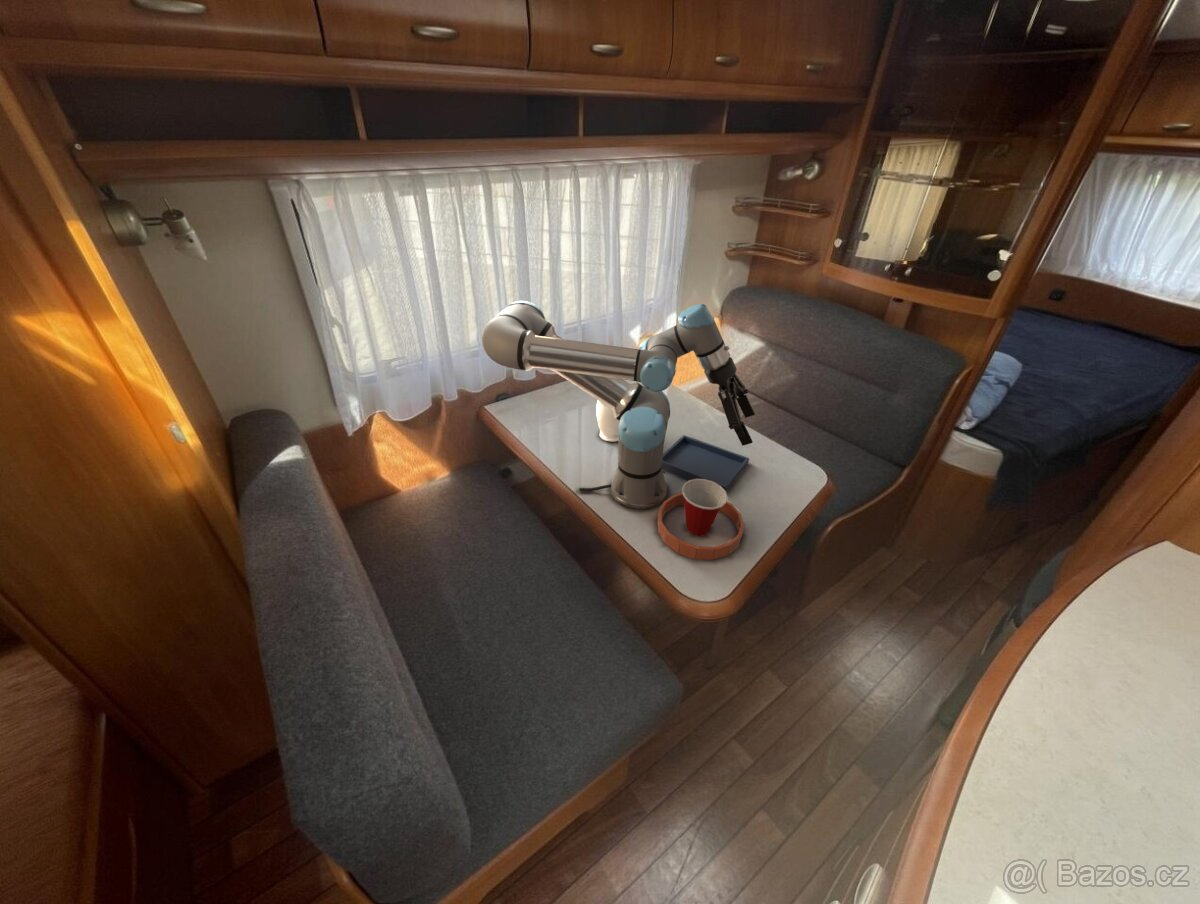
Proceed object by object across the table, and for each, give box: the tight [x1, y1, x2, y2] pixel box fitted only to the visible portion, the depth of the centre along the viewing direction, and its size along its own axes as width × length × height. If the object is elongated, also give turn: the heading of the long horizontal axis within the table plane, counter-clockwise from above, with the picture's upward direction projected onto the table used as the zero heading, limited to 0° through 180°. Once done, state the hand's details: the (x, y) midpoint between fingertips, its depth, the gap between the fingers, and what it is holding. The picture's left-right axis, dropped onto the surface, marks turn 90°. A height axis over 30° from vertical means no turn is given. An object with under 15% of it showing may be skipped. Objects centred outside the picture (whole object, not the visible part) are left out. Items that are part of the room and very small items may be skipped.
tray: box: [662, 434, 750, 493], centre depth 141 cm, size 22×17×3 cm
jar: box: [595, 400, 620, 443], centre depth 151 cm, size 11×10×15 cm
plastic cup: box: [681, 479, 729, 537], centre depth 117 cm, size 11×11×12 cm
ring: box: [656, 492, 745, 561], centre depth 119 cm, size 21×21×4 cm
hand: (748, 429), depth 129 cm, fingers open, 13 cm apart
